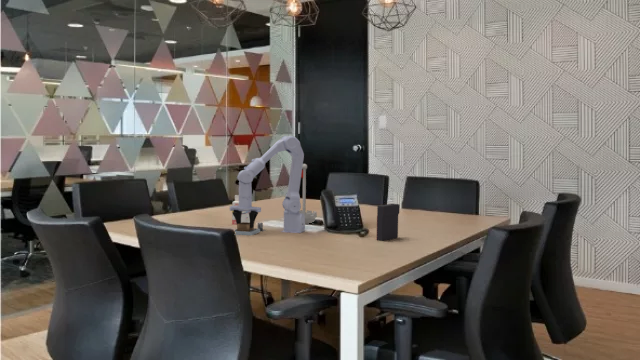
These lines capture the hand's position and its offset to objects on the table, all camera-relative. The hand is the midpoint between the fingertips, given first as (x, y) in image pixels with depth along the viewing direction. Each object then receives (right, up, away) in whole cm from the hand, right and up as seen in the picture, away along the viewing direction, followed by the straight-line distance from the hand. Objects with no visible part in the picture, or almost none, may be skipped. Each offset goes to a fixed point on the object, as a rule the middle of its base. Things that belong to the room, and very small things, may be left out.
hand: (245, 227), depth 252 cm
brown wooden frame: (0, -1, 0) cm, 1 cm away
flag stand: (+25, -1, +36) cm, 44 cm away
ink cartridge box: (-5, -1, +26) cm, 27 cm away
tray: (0, -3, +1) cm, 3 cm away
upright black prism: (+63, -5, -8) cm, 63 cm away
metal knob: (+6, -3, +8) cm, 10 cm away
